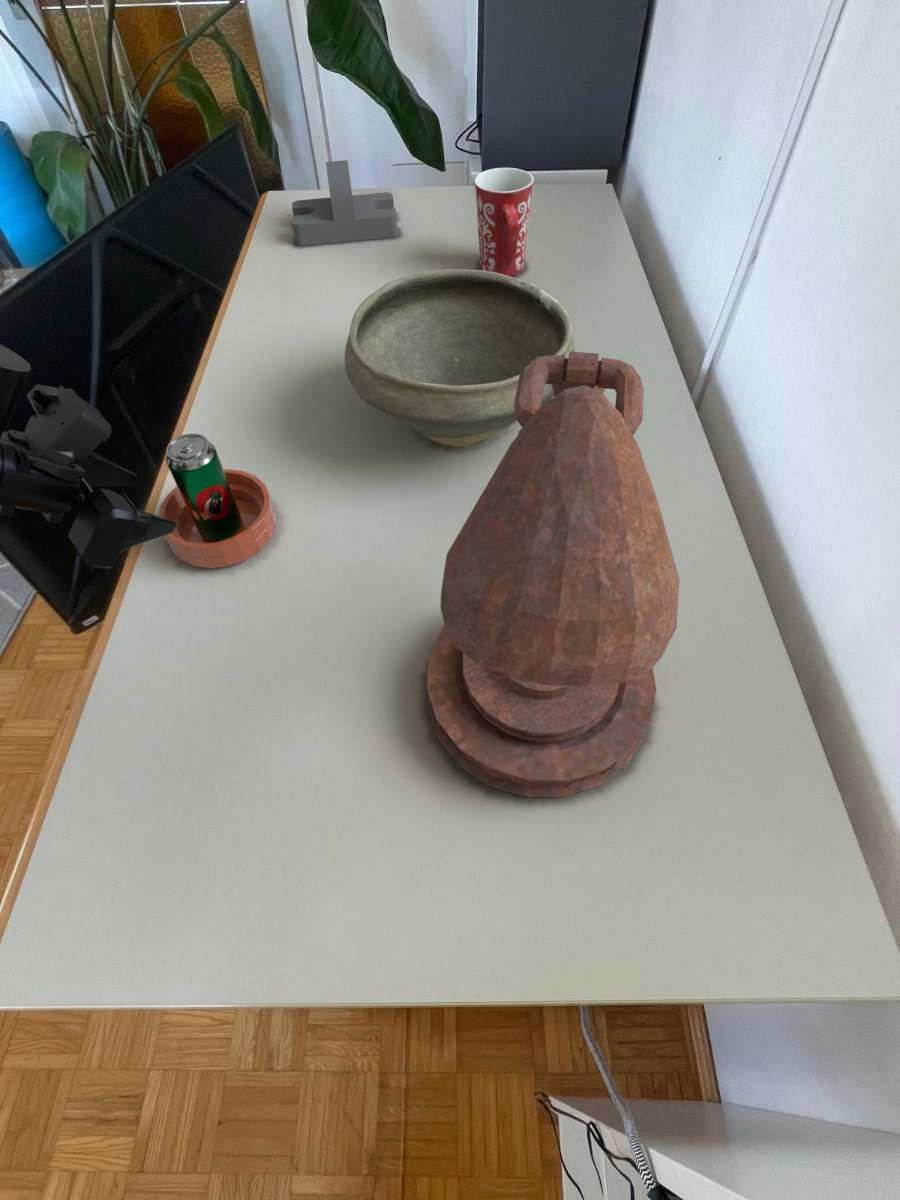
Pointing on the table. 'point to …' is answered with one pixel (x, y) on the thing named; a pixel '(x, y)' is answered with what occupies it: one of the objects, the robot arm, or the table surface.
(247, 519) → the dish
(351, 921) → the table surface
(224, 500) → the soda can
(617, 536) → the rusty bell weight
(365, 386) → the bowl
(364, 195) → the bracket
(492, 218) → the mug
